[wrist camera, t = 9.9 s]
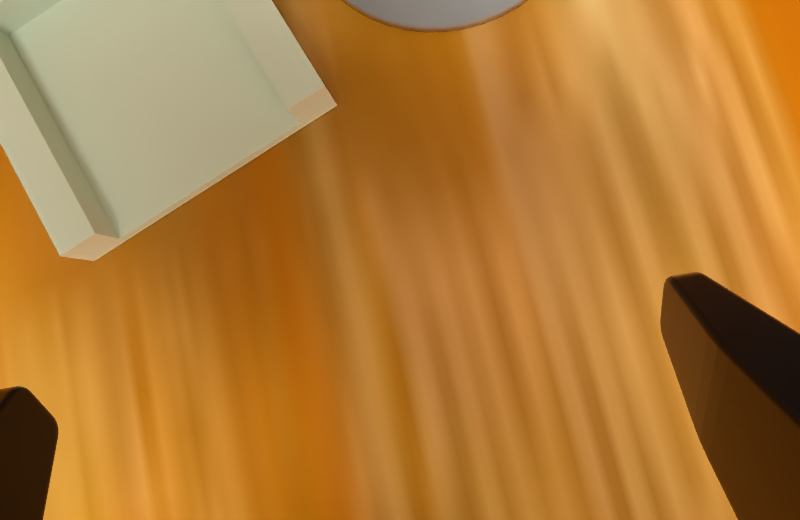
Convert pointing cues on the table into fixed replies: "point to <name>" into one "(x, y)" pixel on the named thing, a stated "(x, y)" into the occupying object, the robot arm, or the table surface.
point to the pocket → (142, 106)
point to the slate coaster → (433, 12)
